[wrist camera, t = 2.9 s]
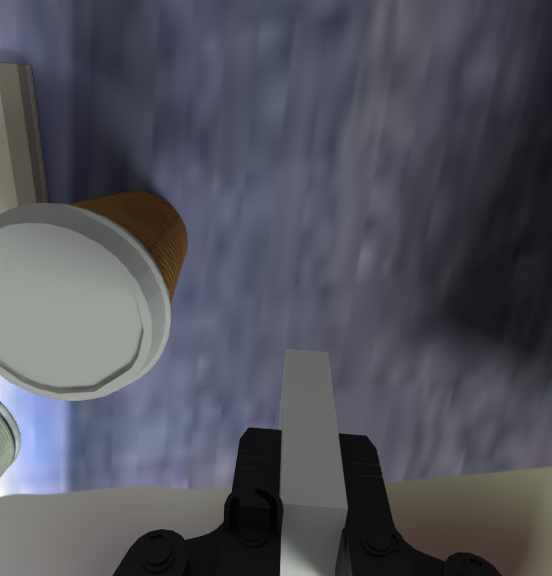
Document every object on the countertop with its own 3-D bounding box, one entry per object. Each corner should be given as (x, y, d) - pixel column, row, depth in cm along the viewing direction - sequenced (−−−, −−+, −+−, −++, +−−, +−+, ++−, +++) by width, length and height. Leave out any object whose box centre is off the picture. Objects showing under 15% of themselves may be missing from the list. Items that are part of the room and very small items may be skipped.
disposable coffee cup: (90, 305, 33) (-15, 413, 22) (53, 170, 29) (-95, 219, 18) (221, 297, 32) (180, 405, 21) (200, 158, 28) (138, 201, 17)
